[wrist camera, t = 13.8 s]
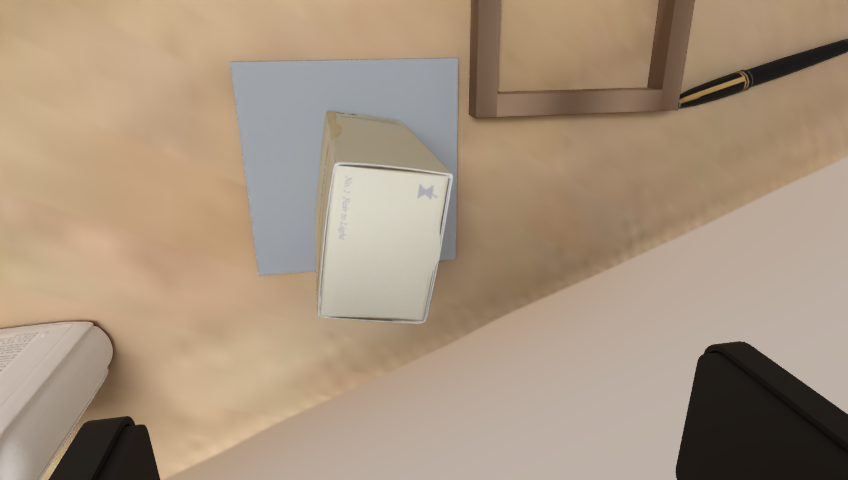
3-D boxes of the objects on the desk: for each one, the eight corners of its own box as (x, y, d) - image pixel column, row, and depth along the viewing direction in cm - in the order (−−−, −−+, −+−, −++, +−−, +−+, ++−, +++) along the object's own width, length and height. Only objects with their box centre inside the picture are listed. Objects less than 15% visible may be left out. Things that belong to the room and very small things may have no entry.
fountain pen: (865, 26, 34) (888, 26, 32) (864, 45, 34) (887, 45, 33) (659, 95, 33) (674, 98, 31) (661, 114, 33) (676, 117, 32)
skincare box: (325, 108, 29) (329, 151, 17) (405, 120, 30) (457, 168, 18) (314, 218, 31) (310, 320, 19) (389, 225, 32) (427, 327, 20)
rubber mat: (456, 58, 29) (458, 58, 29) (454, 256, 34) (455, 259, 33) (231, 61, 27) (230, 62, 27) (259, 272, 32) (258, 275, 31)
